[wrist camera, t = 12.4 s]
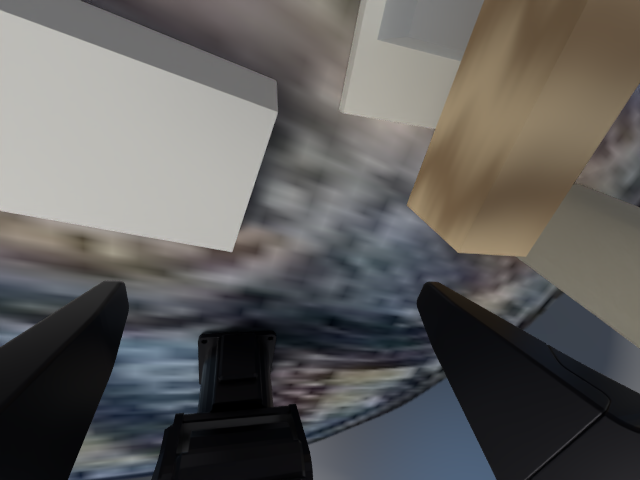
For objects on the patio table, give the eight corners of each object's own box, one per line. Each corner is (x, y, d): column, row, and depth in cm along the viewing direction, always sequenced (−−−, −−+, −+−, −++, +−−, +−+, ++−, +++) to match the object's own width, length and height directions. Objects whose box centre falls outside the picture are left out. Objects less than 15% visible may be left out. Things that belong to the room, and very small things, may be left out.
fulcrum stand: (495, 138, 21) (548, 155, 18) (338, 110, 18) (364, 125, 14) (579, -46, 17) (678, -74, 13) (386, -131, 13) (443, -203, 9)
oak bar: (619, -358, 9) (967, -738, 4) (700, -280, 10) (1033, -522, 6) (406, 205, 17) (458, 252, 13) (462, 211, 18) (525, 256, 14)
